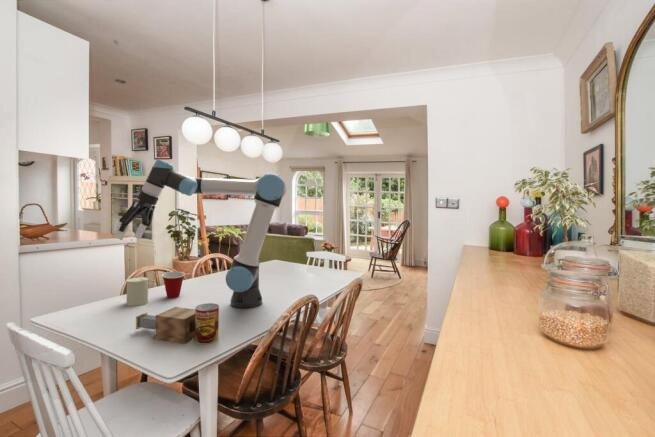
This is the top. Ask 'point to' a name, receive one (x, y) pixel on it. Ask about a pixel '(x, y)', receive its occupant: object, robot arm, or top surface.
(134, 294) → the can
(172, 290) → the plastic cup
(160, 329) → the bearing block
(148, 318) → the shaft
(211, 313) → the canned food
